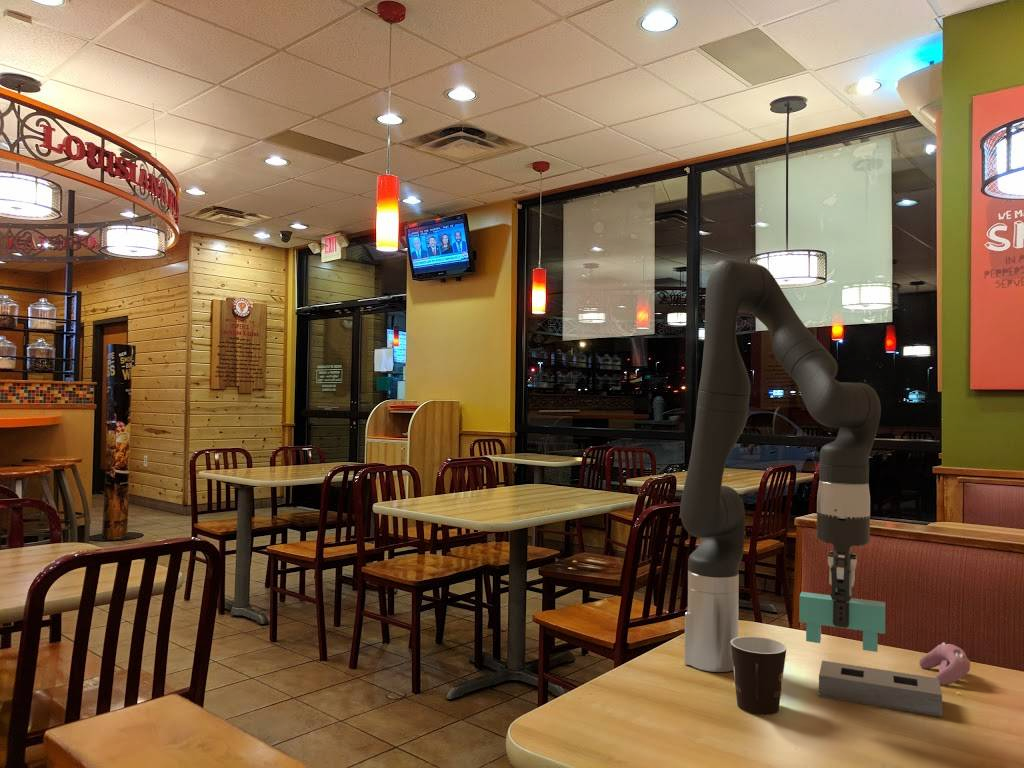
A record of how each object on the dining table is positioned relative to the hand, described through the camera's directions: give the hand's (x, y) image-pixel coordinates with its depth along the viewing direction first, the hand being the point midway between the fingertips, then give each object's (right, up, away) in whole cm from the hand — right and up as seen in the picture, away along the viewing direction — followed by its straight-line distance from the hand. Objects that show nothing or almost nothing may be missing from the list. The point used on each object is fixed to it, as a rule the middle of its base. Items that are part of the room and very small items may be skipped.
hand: (841, 622), depth 115 cm
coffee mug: (-12, -16, +4) cm, 20 cm away
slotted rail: (+11, -16, +10) cm, 21 cm away
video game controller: (+28, -17, +20) cm, 38 cm away
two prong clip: (0, -3, 0) cm, 3 cm away
